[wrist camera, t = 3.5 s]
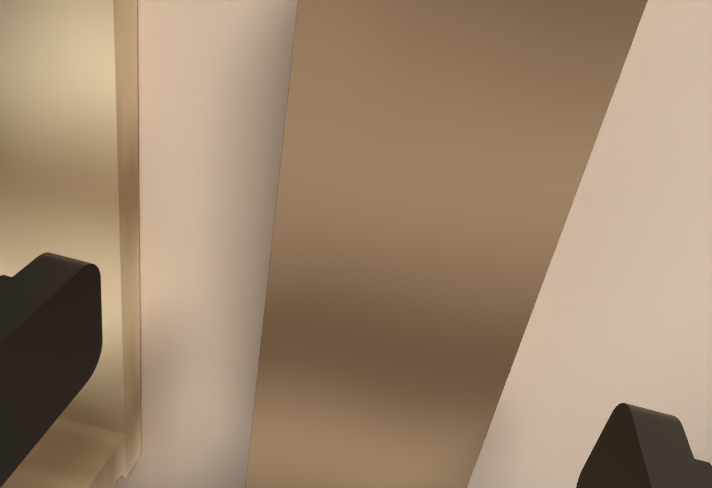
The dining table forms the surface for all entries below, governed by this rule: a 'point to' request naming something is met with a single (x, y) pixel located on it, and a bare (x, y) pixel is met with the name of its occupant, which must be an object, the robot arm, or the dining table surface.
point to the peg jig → (77, 209)
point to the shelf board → (418, 225)
